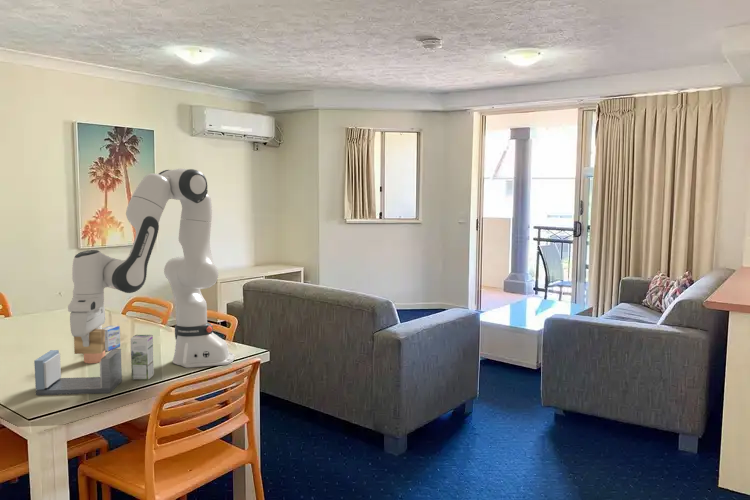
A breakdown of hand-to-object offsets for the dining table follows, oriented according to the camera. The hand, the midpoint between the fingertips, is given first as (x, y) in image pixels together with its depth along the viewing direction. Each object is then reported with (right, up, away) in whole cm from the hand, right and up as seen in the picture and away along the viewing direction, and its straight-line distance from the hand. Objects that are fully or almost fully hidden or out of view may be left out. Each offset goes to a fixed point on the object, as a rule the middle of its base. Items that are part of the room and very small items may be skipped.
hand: (89, 343), depth 186 cm
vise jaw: (-13, -13, 0) cm, 18 cm away
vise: (-4, -14, +1) cm, 15 cm away
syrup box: (+12, -14, +12) cm, 22 cm away
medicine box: (-15, -10, +48) cm, 51 cm away
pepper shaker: (-13, -12, +31) cm, 36 cm away
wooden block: (0, -3, 0) cm, 3 cm away
